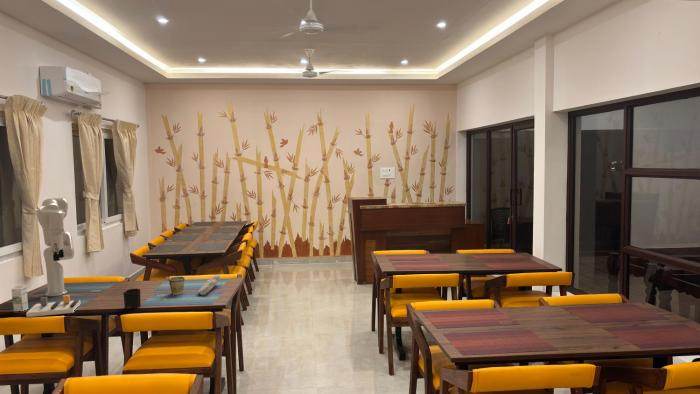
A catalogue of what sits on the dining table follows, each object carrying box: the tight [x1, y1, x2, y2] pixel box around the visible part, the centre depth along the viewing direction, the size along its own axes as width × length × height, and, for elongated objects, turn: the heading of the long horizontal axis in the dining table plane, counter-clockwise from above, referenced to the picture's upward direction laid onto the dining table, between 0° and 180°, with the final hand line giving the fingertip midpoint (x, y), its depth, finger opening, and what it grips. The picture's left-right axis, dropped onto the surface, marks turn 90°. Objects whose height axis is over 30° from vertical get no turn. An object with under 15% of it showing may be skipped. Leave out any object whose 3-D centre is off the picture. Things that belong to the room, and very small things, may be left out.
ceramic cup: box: [168, 276, 186, 296], centre depth 332 cm, size 13×10×10 cm
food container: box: [196, 274, 221, 296], centre depth 338 cm, size 12×30×6 cm, turn 0°
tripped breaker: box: [62, 294, 71, 304], centre depth 303 cm, size 2×3×4 cm
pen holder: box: [122, 288, 142, 310], centre depth 302 cm, size 9×9×10 cm
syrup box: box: [10, 285, 29, 312], centre depth 298 cm, size 6×6×14 cm
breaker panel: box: [25, 299, 82, 318], centre depth 299 cm, size 18×24×3 cm
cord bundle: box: [51, 297, 80, 310], centre depth 300 cm, size 15×12×2 cm
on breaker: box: [40, 296, 49, 306], centre depth 300 cm, size 2×3×4 cm
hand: (58, 259), depth 308 cm, fingers open, 9 cm apart
